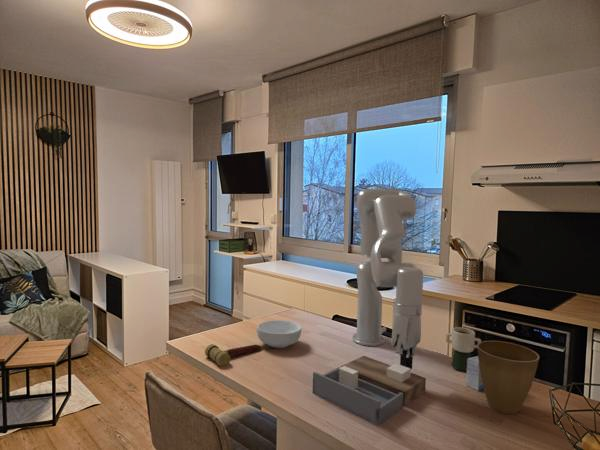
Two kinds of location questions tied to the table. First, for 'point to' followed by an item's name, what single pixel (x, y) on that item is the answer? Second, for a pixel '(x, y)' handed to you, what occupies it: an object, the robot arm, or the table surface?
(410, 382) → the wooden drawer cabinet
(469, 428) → the table surface
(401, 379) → the tile
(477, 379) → the medicine box
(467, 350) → the character mug
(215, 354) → the gavel
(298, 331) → the cereal bowl
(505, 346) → the plant pot
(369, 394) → the tray
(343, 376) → the white square tile
